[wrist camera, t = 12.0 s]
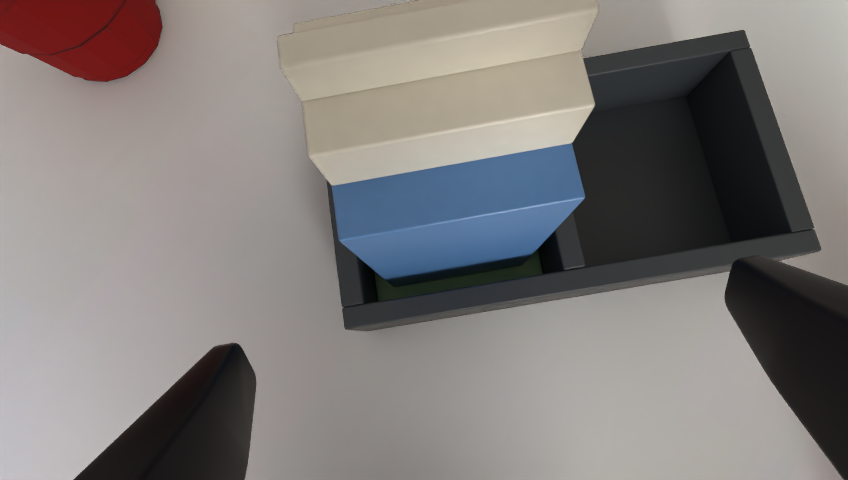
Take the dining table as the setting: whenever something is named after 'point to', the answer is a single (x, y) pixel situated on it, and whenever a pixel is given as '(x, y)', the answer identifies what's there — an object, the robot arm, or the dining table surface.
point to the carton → (445, 128)
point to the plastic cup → (83, 34)
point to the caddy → (635, 191)
